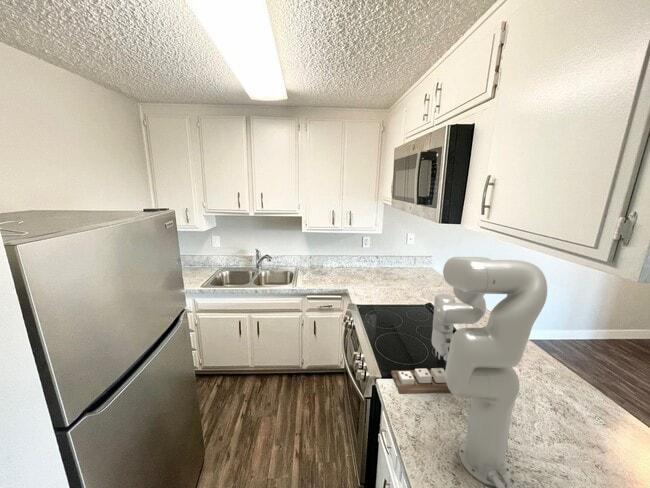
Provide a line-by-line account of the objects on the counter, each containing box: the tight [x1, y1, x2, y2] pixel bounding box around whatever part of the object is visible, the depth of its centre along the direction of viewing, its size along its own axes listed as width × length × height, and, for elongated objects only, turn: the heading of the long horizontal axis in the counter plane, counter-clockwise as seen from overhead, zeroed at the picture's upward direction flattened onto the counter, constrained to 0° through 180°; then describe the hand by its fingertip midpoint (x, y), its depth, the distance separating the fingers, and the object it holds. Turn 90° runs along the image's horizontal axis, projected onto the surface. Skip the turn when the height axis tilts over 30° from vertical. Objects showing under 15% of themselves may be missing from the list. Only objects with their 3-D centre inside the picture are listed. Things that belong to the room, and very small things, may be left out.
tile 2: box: [414, 368, 433, 384], centre depth 107 cm, size 5×5×3 cm
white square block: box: [397, 370, 414, 385], centre depth 107 cm, size 5×5×3 cm
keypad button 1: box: [430, 367, 446, 384], centre depth 107 cm, size 5×5×3 cm
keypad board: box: [390, 369, 453, 395], centre depth 107 cm, size 12×23×2 cm, turn 91°
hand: (439, 366), depth 107 cm, fingers closed
